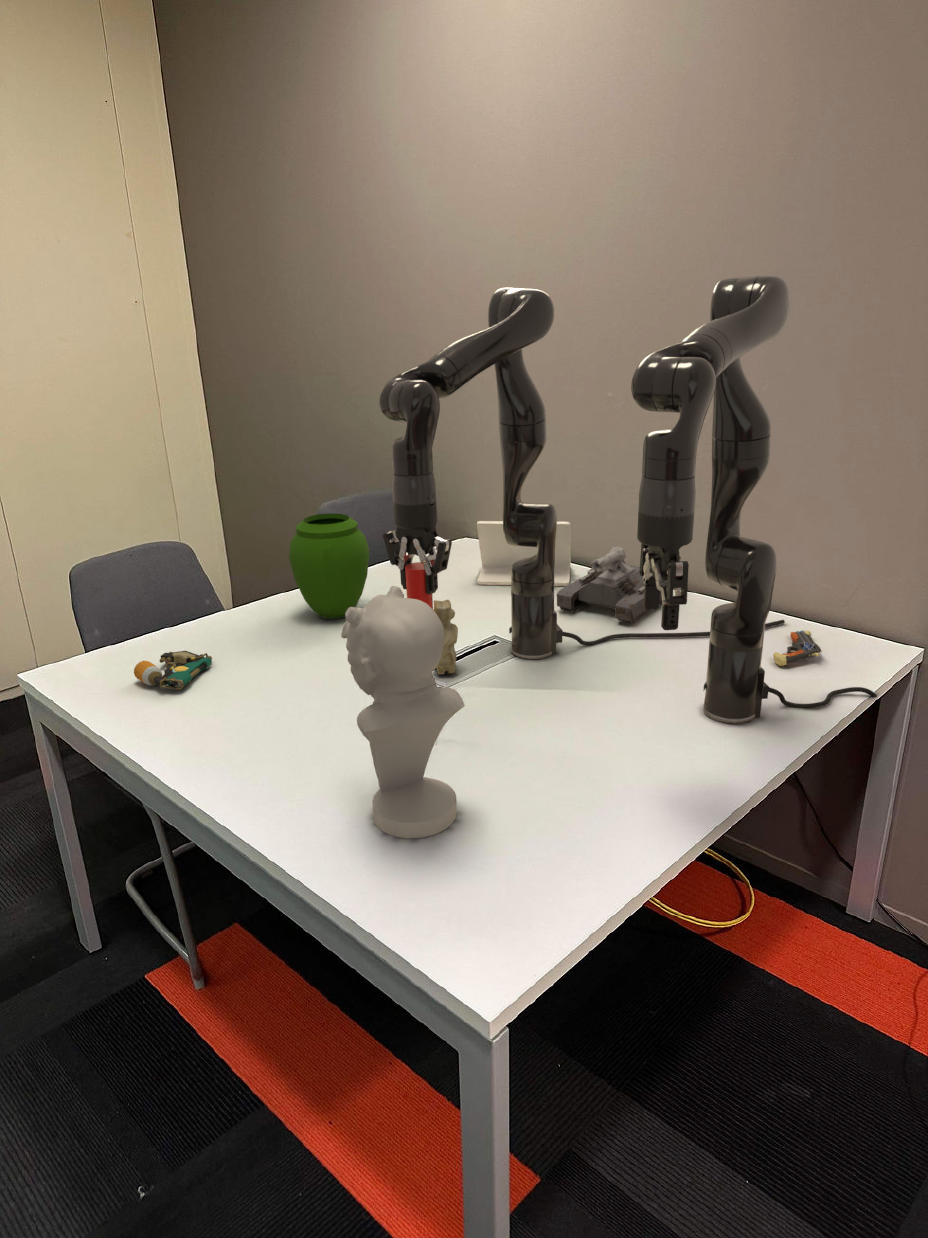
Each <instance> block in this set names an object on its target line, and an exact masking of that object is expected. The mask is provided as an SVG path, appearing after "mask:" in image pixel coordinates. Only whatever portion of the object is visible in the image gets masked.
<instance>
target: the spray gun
mask: <svg viewBox="0 0 928 1238" xmlns="http://www.w3.org/2000/svg"><path fill="white" fill-rule="evenodd" d="M212 660H213V657H212V656H211V655H208V653H207V652H205V653H201V654H197V653H194V652H192V651H191V652H190V651H188V650H180V651H169V652H164V653H162V654H161V655H160V658H159V660H158V662H159V663H161V664H163V663H165V664H166V668H165V670H163V672H164V674H163V673H162V669H160V668H159V666H157V665H156V664H154V663H152V662H151V661H149V660H141V661H139V662H138V663H136V665H135V666H134V668H133V675H134V677H135V678H136V679H137V680H139V681H140V682H142V683H143V684H145V685H147V686H155V685H157V686H158V687H160V688H161V689H171V690H172V689H173V690H182V689H184V687H185V686H186V685H188V684H189V683H190V682H191V681H192V679H193V678H195V677H196V676H197V675H198V674H200V673H201V672H202V671H203V670H206V669H208V668H209V667H210V666H211V665H212V662H213V661H212ZM178 663H179V664H181V665H179V666H176V665H177V664H178Z"/></svg>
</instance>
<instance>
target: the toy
mask: <svg viewBox="0 0 928 1238" xmlns="http://www.w3.org/2000/svg"><path fill="white" fill-rule="evenodd" d="M626 557H627V556H626V551H625V549H624V548H622V547H621V546H614V547H612V548H611V549H610V550H609V552H608V553H607V554H605V555H604V556H601V557H599V558H598V559H597V557H596V558H594V559H593V560H592V561H590V562H589V563H590V564H591V565H592V567H591V568H590V569H589V570H587V573H586V575H584V576H582V577H580V578H578V579H577V580H575V581H573V582H570V583H569V585H567V586H563V587H562V588H560V589H559V590H558V591H557V592H556V607H558V608H559V609H560V610H562V611H566V612H572V613H575V612H577V611H579V610H581V609H582V608H585V607H586V606H588V605H592V606H598V607H602V608H603V607H604V608H609V609H613V610H614V618H615V619H617V620H618V621H621V622H626V623H631V624H634V623H635V622H637V621H638V620H640V619H641V618H642V617H644V616H645V615H647V614H648V613H650V612H651V611H652V610H647V609H645V607H644V588H645V585H646V584H644V583H643V580H642V579H643V576H640V574H639V571H640V566H635V565H629V564H628V563H627V562H626V561H625V559H626ZM662 604H663V603H662V596H661V591H660V605H662Z"/></svg>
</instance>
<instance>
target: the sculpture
mask: <svg viewBox="0 0 928 1238" xmlns="http://www.w3.org/2000/svg"><path fill="white" fill-rule="evenodd" d="M433 611H434V612H435V613H436V614H437V615H438V617H439V619H440V620H441V623H442V625H443V628H444V634H445V636H444V647H443V652H442V656H441V659H440V662H439V664H438V666H437V667H436V668H435V669H436V671H437V674H438V675H445V674H446V672H447V673H448V674H455V673H456V666H457V665H456V663H457V652H456V649H455V644H456V643H457V642H458V637H459V635H458V634H459V627H458V626H457V624H455V623H453V622H451V621H452V620H453V619H454V618H455V615H456V611H455V609H453V608H452V602H451V601H450V599H445V600H433Z"/></svg>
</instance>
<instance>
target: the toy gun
mask: <svg viewBox="0 0 928 1238" xmlns="http://www.w3.org/2000/svg"><path fill="white" fill-rule="evenodd" d="M790 638H791V641H792V642H791V645H790V646H787V647H786V649H787V651H786V653H780V652H777V651H775V652H773V653H772V656H773V660H774V662H775V664H776V665H778V666H780V667H781V666H782V667H783V666H786V665H790V664H795V663H797V662H800V661H804V660H807V659H810V658H811V657H815V656H816V657H819V656H820V654H821V653H823V650H822V649H821V647H820V645H818V644H817V643H816V642H815V641H814V640H813V638H812V632H811V630H800V631H799V630H796V631H791V632H790Z"/></svg>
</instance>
